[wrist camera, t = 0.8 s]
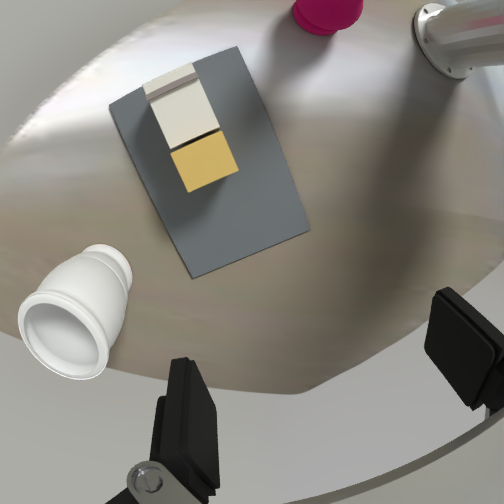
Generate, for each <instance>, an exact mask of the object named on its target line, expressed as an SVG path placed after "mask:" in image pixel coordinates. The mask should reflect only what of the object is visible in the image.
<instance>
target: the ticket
mask: <svg viewBox="0 0 504 504" xmlns="http://www.w3.org/2000/svg"><path fill="white" fill-rule="evenodd" d="M142 86H143V88H144V91H145V93H146V95H145V97H146V99H147V101H149V102H150V104H151V107H152V109H153V111H154V114H155V116H156V118H157V120H158V123H159V125H160V127H161V129H162V132H163V134H164V136H165V138H166V140H167V143H168V145H169V147H170V149H172V148H175V147H178V146H180V145H183V144H185V143H187V142H189V141H191V140H193V139H196V138H198V137H200V136H202V135H205V134H207V133H209V132H211V131H214V130H216V129H219V128H220V126H219V123H218V121H217V119H216V117H215V114H214V112H213V110H212V107H211V105H210V103H209V101H208V98H207V96H206V94H205V92H204V89H203V87H202V85H201V83H200V80H199V77H198V74H197V72H196V71H195V69H194V67H193V65H192V63H188V64H186V65H184V66H182V67H179V68H177V69H175V70H173V71H170V72H168V73H166V74H164V75H162V76H160V77H158V78H156V79H154V80H152V81H150V82H148V83H146V84H144V85H142Z"/></svg>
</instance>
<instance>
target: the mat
mask: <svg viewBox="0 0 504 504" xmlns="http://www.w3.org/2000/svg"><path fill="white" fill-rule="evenodd" d="M192 65H193V67H194V69H195V71H196V72H197V74H198V77H199V80H200V83H201V85H202V87H203V89H204V92H205V94H206V96H207V98H208V101H209V103H210V105H211V107H212V110H213V112H214V114H215V117H216V119H217V121H218V123H219V126H220V128H219V129H216V130H214V131H211V132H209V133H207V134H205V135H202V136H200V137H198V138H196V139H193V140H191V141H189V142H187V143H185V144H183V145H180V146H178V147H175V148H172V149H170V147H169V145H168V143H167V140H166V138H165V136H164V134H163V132H162V129H161V127H160V125H159V123H158V120H157V118H156V116H155V114H154V111H153V109H152V107H151V104H150V102H149V101H147V99H146V97H145V95H146V93H145V91H144V88H143V86H142V87H140V88H138V89H136V90H135V91H133V92H131V93H129V94H127V95H125V96H124V97H122V98H120V99H118V100H117V101H115V102H113V103H112V104H110V105H109V107H110V109H111V112H112V114H113V116H114V119H115V121H116V123H117V126H118V128H119V130H120V132H121V135H122V137H123V139H124V141H125V144H126V146H127V148H128V150H129V152H130V155H131V157H132V159H133V161H134V163H135V165H136V168H137V170H138V172H139V174H140V176H141V178H142V180H143V182H144V184H145V186H146V188H147V191H148V193H149V195H150V197H151V199H152V201H153V203H154V205H155V207H156V209H157V211H158V213H159V215H160V217H161V219H162V221H163V223H164V225H165V227H166V228H167V230H168V232H169V234H170V236H171V238H172V240H173V242H174V244H175V246H176V248H177V249H178V251H179V253H180V255H181V257H182V259H183V261H184V262H185V264H186V266H187V268H188V270H189V272H190V273H191V275H192V277H193V278H195V277H198V276H200V275H203V274H205V273H207V272H210V271H212V270H215V269H217V268H219V267H222V266H224V265H227V264H229V263H231V262H234V261H236V260H239V259H241V258H243V257H246V256H248V255H251V254H253V253H256V252H258V251H260V250H263V249H265V248H268V247H270V246H272V245H275V244H277V243H280V242H282V241H284V240H287V239H289V238H292V237H294V236H296V235H299V234H301V233H304V232H306V231H308V230H311V229H310V226H309V223H308V220H307V218H306V215H305V212H304V209H303V206H302V203H301V201H300V198H299V195H298V192H297V189H296V187H295V184H294V181H293V179H292V176H291V173H290V171H289V168H288V165H287V163H286V160H285V157H284V155H283V152H282V150H281V147H280V145H279V142H278V140H277V137H276V135H275V132H274V130H273V127H272V125H271V122H270V120H269V117H268V115H267V113H266V110H265V108H264V105H263V103H262V101H261V98H260V96H259V94H258V91H257V89H256V87H255V84H254V82H253V80H252V78H251V75H250V73H249V71H248V69H247V66H246V64H245V62H244V60H243V58H242V55H241V53H240V51H239V49H238V47H237V46H236V47H233V48H230V49H227V50H224V51H222V52H219V53H216V54H213V55H211V56H208V57H206V58H203V59H201V60H198V61H196V62H193V63H192ZM221 130H222V132H223V135H224V137H225V139H226V141H227V144H228V146H229V148H230V151H231V153H232V155H233V158H234V160H235V162H236V165H237V167H238V169H239V171H237V172H234V173H232V174H229V175H227V176H225V177H222V178H220V179H218V180H216V181H213V182H211V183H209V184H206V185H204V186H202V187H200V188H198V189H195V190H193V191H191V192H189V193H188V191H187V189H186V187H185V184H184V182H183V180H182V178H181V176H180V174H179V172H178V169H177V167H176V165H175V163H174V161H173V159H172V156H171V154H170V153H172V152H174V151H177V150H179V149H181V148H183V147H185V146H187V145H189V144H192V143H194V142H196V141H198V140H200V139H203V138H205V137H207V136H209V135H212V134H214V133H216V132H219V131H221Z"/></svg>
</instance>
